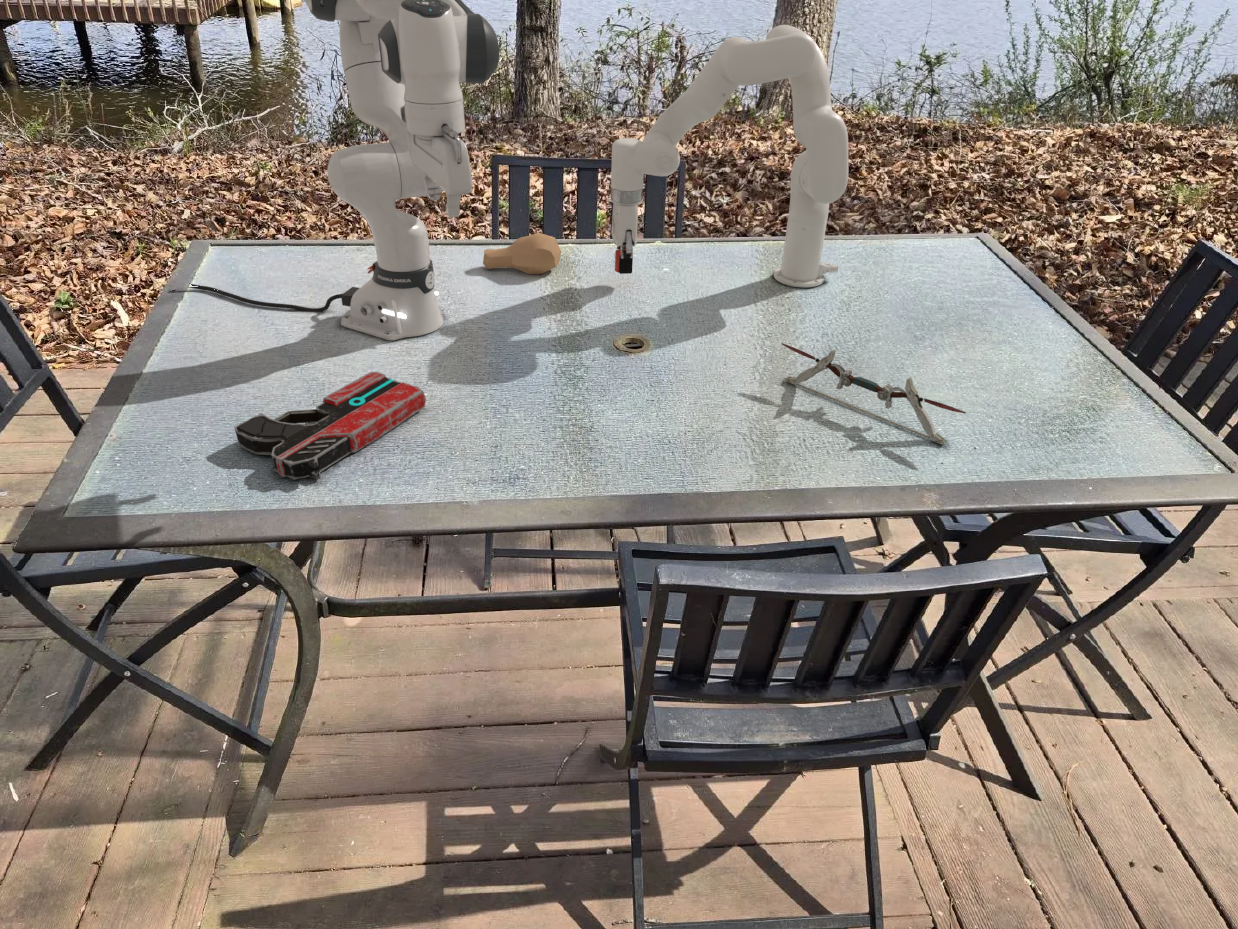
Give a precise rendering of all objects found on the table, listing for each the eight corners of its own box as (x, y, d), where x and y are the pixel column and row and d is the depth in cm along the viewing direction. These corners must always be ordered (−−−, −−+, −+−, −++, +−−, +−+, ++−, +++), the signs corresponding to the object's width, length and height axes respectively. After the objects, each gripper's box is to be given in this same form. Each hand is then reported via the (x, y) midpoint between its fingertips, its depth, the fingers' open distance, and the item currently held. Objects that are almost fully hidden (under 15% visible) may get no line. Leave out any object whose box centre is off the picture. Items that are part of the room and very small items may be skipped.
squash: (562, 278, 220) (556, 246, 214) (484, 285, 222) (476, 253, 216) (564, 255, 228) (559, 224, 222) (489, 262, 230) (481, 231, 223)
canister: (619, 265, 218) (619, 247, 215) (634, 268, 216) (635, 250, 214) (611, 271, 214) (612, 252, 212) (627, 274, 213) (628, 256, 210)
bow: (958, 447, 158) (972, 398, 152) (954, 450, 157) (967, 402, 151) (779, 375, 179) (785, 330, 174) (774, 378, 178) (780, 333, 172)
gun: (219, 431, 148) (300, 468, 140) (353, 358, 170) (430, 387, 162) (225, 453, 150) (305, 490, 143) (356, 378, 172) (432, 408, 164)
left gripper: (478, 131, 129) (484, 223, 136) (434, 103, 143) (441, 188, 151) (437, 135, 126) (445, 229, 134) (396, 106, 141) (406, 192, 149)
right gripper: (605, 184, 212) (604, 257, 222) (616, 206, 198) (613, 282, 208) (636, 184, 213) (633, 256, 223) (648, 205, 199) (644, 282, 209)
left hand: (443, 207), depth 143 cm, fingers open, 8 cm apart
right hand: (623, 268), depth 215 cm, fingers closed on canister, 4 cm apart
